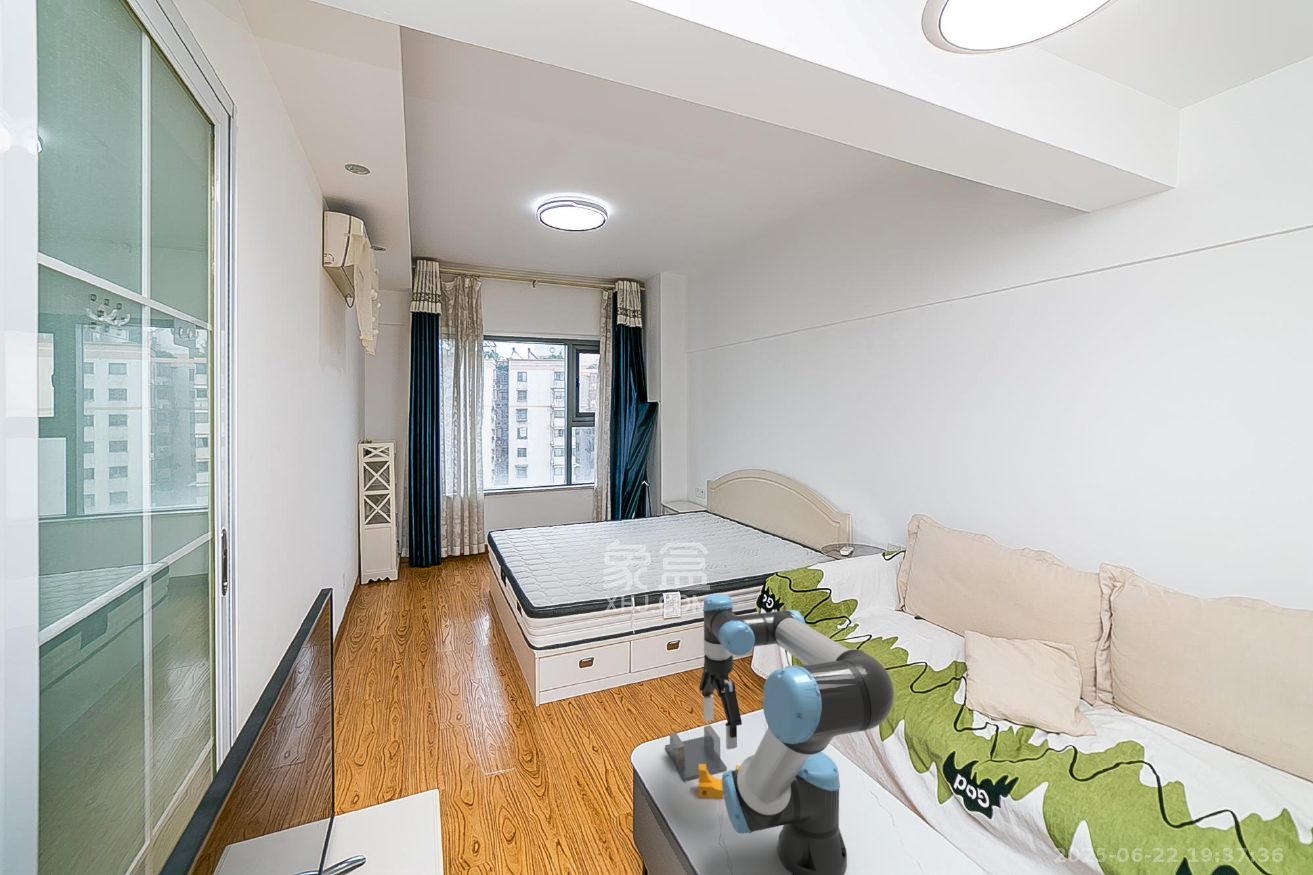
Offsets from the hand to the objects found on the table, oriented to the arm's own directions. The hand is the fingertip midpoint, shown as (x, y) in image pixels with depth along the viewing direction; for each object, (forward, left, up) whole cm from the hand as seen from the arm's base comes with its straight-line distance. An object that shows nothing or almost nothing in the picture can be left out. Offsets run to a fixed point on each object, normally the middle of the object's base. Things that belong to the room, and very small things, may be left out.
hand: (719, 733), depth 145 cm
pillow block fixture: (+15, +1, -17) cm, 23 cm away
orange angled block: (0, 0, -17) cm, 17 cm away
